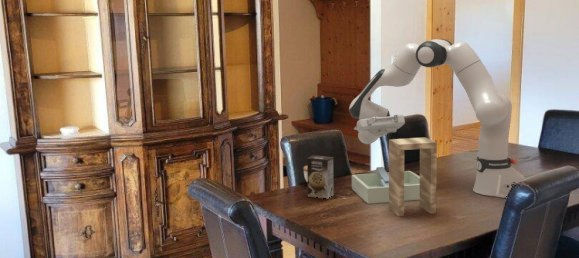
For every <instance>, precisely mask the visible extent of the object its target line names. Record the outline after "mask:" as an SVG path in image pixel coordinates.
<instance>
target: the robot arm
mask: <svg viewBox="0 0 579 258" xmlns="http://www.w3.org/2000/svg"><path fill="white" fill-rule="evenodd" d="M443 65H447V66H449V67H450V68H451V69H452V71H453V72H454V74H455V76H456V78H457V80H458V81H459V83H460V84H461V86H462V88H463V89H464V91H465V93H466V95H467V97H468V100H469V102H470V104H471V106H472V109H473V111H474V113H475V118H476V119H477V121H478V122H479V123H480V131H479V135H478V143H477V144H478V149H477V150H478V151H477V152H478V153H477V157H476V176H475V181H474V186H473V188H472V191H473V192H474V193H476V194H478V195H483V196H489V197H497V198H502V199H503V198H507V197H506V196H507V194H508V192H509V190H510V188H511V187H512V186H513V185H514V184H516V183H518V182H520V181H522V180H524V179H525V180H526V178H525V176H524V175H523V174H522V173H520V172H519V171H518V170H516V168H514V167H513V166H512V165H516V164H517V159H516V158H515V159H514V158H510V157H509V156H508V153H509V152H508V151H509V150H508V148H509V135H510V129H511V121H512V111H513V106H512V101H511V100H510V98H509V97H508V96H506V95H505V94H502V93H499V92H498V90H497V88H496V85H495V84H494V82H493V78H492V76H491V74H490V73H489V71H488V69H487V68H486V66H485V64H484V63H483V61H482V60H481V57H479V55H478V54H477V53H476V51H475V50H474V49H473V48H472V47H471V45H469V43H467V42H465V41H458V42H455V43H452V42H451V41H449V40H448V39H444V38H439V39H436V38H435V39H430V40H427V41H426V40H425V41H424V42H422V43H420V44H417V43H414V42H409V43H407V44H405V45H404V46H403V47H402V49H401V50H400V51H399V52H398V54H397V55H396V56H395V59H394V61H393V62H392V63H391V64H390V66H388V67H386V68H382V69H380V70H378V71H377V72H376V73H375V75H374V76H373V77H372V78H371V79H370V80H369V81H368V83H367V84H366V85H365V86H364V87H363V89H362V90H361V91H360V93H359V94H358V95H357V96H356V97H355V98H354V99H353V100H352V101H351V103H350V104H349V109H348V111H349V114H350V115H351V116H350V117H352V118H353V119H357V122H356V126H355V127H354V128H353V130H355V131H357V132H358V133H357V138H358V140H359V141H360V142H361V143H363V144H364V145H370V144H373V143H375V142H376V141H377V140H379V139H380V138H381V137H383V136H386V135H389V134H393V133H396V132H397V130H398V129H400V128H402V127H403V126H404V125H405V124H406V119H405V116H404V115H403V114H395V115H391V114H390V111H389V109H388V108H386V107H384V106H382V105H381V104H377V103H375V102H374V101H371V100H369V98H370V97H371V96H372V95H373V93H375V91H376V89H378V88H380V87H395V88H397V87H399V88H400V87H405V86H408V85H409V84H410V83H411V82H412V81H413V80H414V78H415V77H416V75H417V74H418V72H419V70H420V68H421V67H425V68H435V67H440V66H443Z"/></svg>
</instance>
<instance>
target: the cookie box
mask: <svg viewBox="0 0 579 258" xmlns="http://www.w3.org/2000/svg"><path fill="white" fill-rule="evenodd" d="M306 161H307V163H306V164H307V165H306V166H307V171H308V182H307V197H308V198H316V197H318V198H317V199H323V198H326V200H328V199H330V198H332V197H333V196H334V157H333V156H323V155H315V154H313V155H311V156H309V157H307V160H306ZM331 196H332V197H331ZM329 197H330V198H329Z"/></svg>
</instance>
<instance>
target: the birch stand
mask: <svg viewBox="0 0 579 258" xmlns="http://www.w3.org/2000/svg"><path fill="white" fill-rule="evenodd" d="M437 145H438V142H437V141H435V140H432V139H430V138H428V137H424V136H423V137H409V138H397V139H396V138H392V139H389V140H388V172H389V202H388V208H389V209H390V211H392V212H393V214H395V215H396V216H397V217H404V216H405V201H404V171H405V151H407V150H409V151H410V150H419V176H420V195H419V200H418V201H419V207H421V208H422V210H425V212H427V213H429V214H436V211H437V159H438V158H437V154H438V153H437V151H438V149H437V148H438V146H437Z"/></svg>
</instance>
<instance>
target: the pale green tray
mask: <svg viewBox="0 0 579 258" xmlns="http://www.w3.org/2000/svg"><path fill="white" fill-rule="evenodd" d="M386 172H387V171H386ZM387 174H388V175H389V171H388V172H387ZM379 185H380V177H379V176H378V174H377V172H374V173H373V172H372V173H360V174H359V173H358V174H351V190H352V191H354V192H355V194H356V195H357V196H359V197H360V198H361V199H362V200H363V201H364V202H365V203H366V204H367V205H369V204H380V203H381V204H382V203H383V204H384V203H389V186H385V187H380V186H379ZM419 195H420V175H418V174H416V173H415V172H413V171H411V170H404V202H407V201H419Z"/></svg>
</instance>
